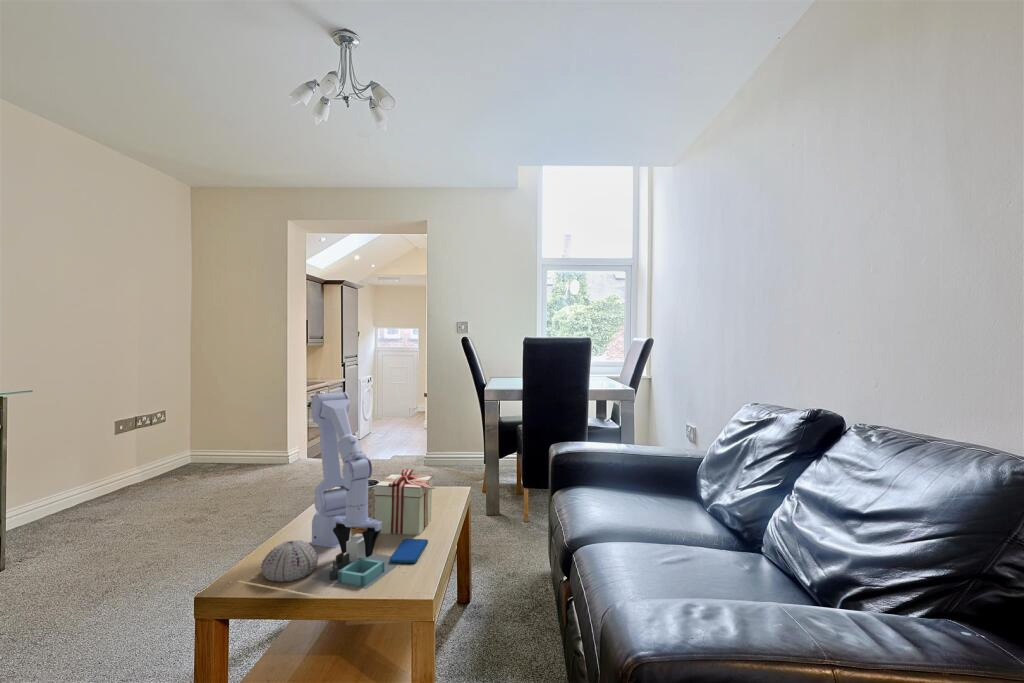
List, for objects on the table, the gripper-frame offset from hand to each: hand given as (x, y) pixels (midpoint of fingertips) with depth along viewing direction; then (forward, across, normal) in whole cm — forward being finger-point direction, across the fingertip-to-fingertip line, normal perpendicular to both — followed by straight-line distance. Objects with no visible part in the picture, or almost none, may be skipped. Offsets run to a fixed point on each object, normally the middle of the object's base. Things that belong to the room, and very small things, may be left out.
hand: (356, 553), depth 135 cm
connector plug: (+1, 0, 0) cm, 1 cm away
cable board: (+2, +5, -5) cm, 7 cm away
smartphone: (+1, +12, +8) cm, 14 cm away
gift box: (+2, 0, +27) cm, 27 cm away
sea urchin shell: (+2, -11, -12) cm, 17 cm away
